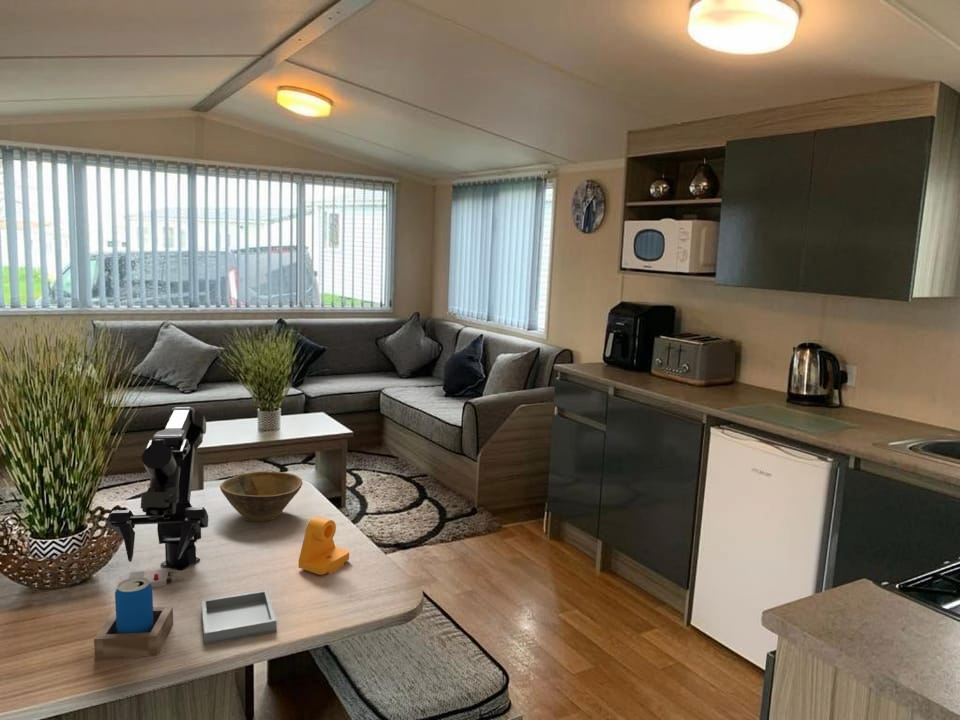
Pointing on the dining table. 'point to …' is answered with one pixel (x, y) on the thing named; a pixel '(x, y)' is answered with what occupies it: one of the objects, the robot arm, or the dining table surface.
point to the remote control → (152, 576)
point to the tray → (237, 617)
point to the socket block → (133, 637)
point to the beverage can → (134, 606)
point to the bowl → (261, 493)
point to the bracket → (321, 548)
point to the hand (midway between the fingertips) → (154, 559)
